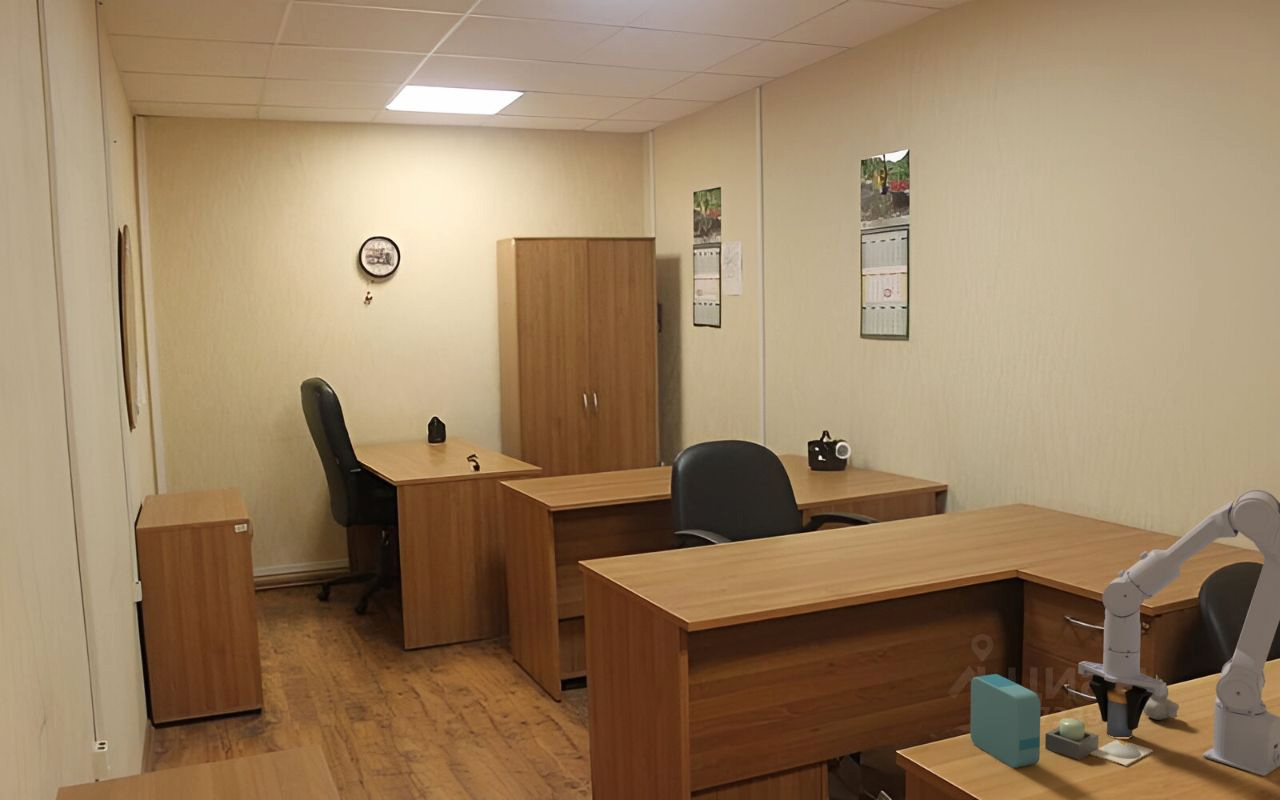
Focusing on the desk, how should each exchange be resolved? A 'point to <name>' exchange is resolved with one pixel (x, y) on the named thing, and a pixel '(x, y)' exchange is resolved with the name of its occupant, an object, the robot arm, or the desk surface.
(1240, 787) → the desk surface
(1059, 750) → the button housing
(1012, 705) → the data package
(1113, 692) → the orange-capped grey cylinder
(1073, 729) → the button
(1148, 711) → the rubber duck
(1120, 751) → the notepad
